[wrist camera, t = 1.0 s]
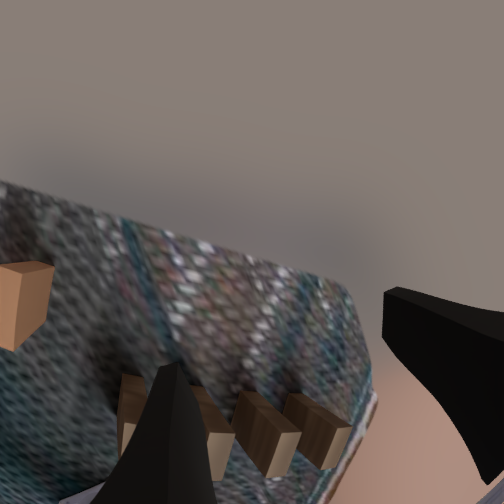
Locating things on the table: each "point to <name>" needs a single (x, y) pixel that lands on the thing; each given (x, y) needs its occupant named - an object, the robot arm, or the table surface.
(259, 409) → the domino
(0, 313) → the domino
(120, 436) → the domino
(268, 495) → the table surface
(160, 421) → the robot arm
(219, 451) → the domino
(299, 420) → the domino
